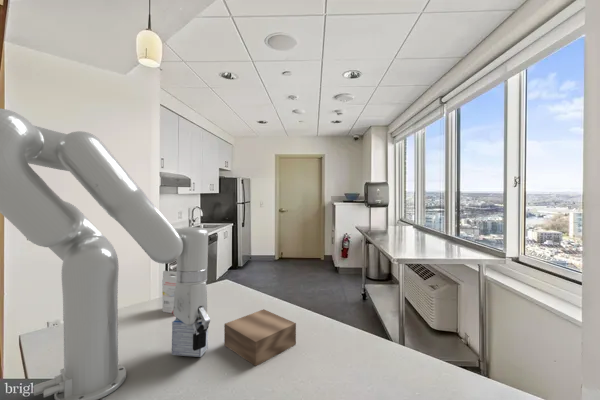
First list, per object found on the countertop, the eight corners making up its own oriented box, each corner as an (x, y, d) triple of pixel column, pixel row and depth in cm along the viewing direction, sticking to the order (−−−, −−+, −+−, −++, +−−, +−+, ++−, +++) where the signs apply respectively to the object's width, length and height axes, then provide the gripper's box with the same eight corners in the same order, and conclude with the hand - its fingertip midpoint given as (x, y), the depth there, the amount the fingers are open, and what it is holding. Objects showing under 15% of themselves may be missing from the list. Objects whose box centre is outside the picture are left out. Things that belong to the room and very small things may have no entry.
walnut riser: (255, 366, 70) (255, 341, 70) (224, 345, 79) (224, 323, 79) (295, 344, 80) (295, 323, 80) (263, 328, 89) (263, 309, 89)
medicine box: (208, 348, 76) (209, 316, 76) (200, 358, 72) (201, 323, 72) (179, 346, 77) (180, 314, 77) (170, 355, 72) (171, 321, 72)
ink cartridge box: (191, 309, 104) (191, 269, 104) (181, 315, 99) (181, 272, 99) (171, 306, 106) (171, 267, 106) (161, 312, 102) (161, 270, 101)
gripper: (163, 271, 78) (162, 334, 78) (194, 285, 66) (192, 360, 66) (190, 267, 83) (189, 326, 83) (222, 279, 71) (221, 348, 71)
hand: (190, 341), depth 74 cm, fingers closed on medicine box, 9 cm apart
